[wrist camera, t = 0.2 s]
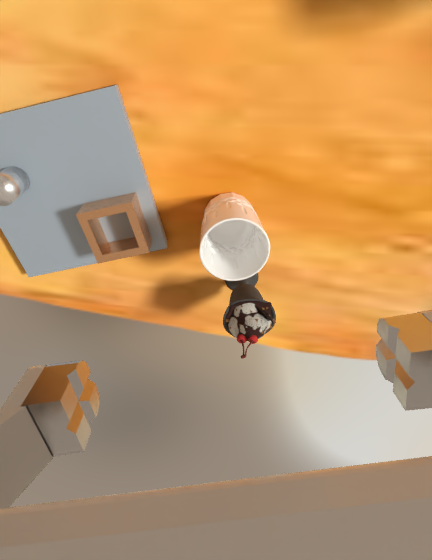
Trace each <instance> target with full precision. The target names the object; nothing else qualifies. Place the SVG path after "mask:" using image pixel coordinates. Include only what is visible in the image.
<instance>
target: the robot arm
mask: <svg viewBox="0 0 432 560" xmlns="http://www.w3.org/2000/svg"><path fill="white" fill-rule="evenodd" d="M377 332H378V334H379V335H380V337H381V338H382V339H381V340H380V341H379V342H378V344H377V345H376V356H377V361H378V365H379V368H380V370H381V372H382V374H383V376H384V378H385V379H386V380H388V381H390V382H392V383H394V384H393V392H394V394H395V395H396V397H397V398H398V400H399V401H400V402H401V404H402V406H403V408H404V409H405V410H415V409H425V408H432V310H428V311H422V312H417V313H413V314H407V315H400V316H393V317H387V318H380V319H379V321H378V324H377ZM89 374H90V369H89V367H88V365H87V363H86V362H84V361H74V362H66V363H58V364H49V365H43V366H35V367H31V368H29V369H27V371H26V372H25V374H24V375H23V376H22V378H21V379H20V381H19V382H18V384H17V385H16V387H15V388H14V390H13V392H12V393H11V394H10V396H9V397H8V399H7V400H6V402H5V403H4V405H3V406H2V408H1V409H0V560H432V456H429V457H421V458H414V459H406V460H396V461H388V462H380V463H372V464H363V465H355V466H346V467H338V468H330V469H322V470H314V471H305V472H296V473H288V474H280V475H272V476H264V477H255V478H247V479H239V480H231V481H223V482H214V483H207V484H198V485H191V486H182V487H174V488H167V489H157V490H149V491H141V492H133V493H125V494H116V495H108V496H100V497H92V498H84V499H75V500H67V501H59V502H51V503H43V504H34V505H26V506H18V507H10V505H11V504H12V503H13V502H14V501H15V500H16V499H17V498H18V497H19V496H20V494H21V493H22V492H23V491H24V490H25V489H26V488H27V487H28V485H29V484H30V483H31V482H32V481H33V480H34V479H35V478H36V476H38V474H39V473H40V472H41V471H42V470H43V469H44V468H45V467H46V466H47V464H48V463H49V462H50V461H51V460H52V459H53V457H54V456H61V455H67V454H73V453H80V452H84V450H85V448H86V445H87V442H88V439H89V436H90V434H91V429H90V427H89V424H90V423H91V422H92V421H93V420H94V419H95V418H96V416H97V413H98V410H99V393H98V389H97V387H96V384H94V383H93V382H92V381H90V380H89V379H88V376H89ZM9 507H10V508H9Z"/></svg>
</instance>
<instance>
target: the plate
mask: <svg viewBox="0 0 432 560" xmlns="http://www.w3.org/2000/svg"><path fill="white" fill-rule="evenodd" d="M10 166H15V167H19V168H21V169H22V170H24V171H25V172H26V173H27V175H28V177H29V179H30V187H29V189H28V190H27V191H25V192H24V193H23V194H22V195H21V196H19V197H18V198H17V199H16V200H15V201H13V202H12V203H11V204H10V205H7V206H0V228H1V230H2V232H3V233H4V235H5V237H6V238H7V240H8V242H9V244H10V245H11V247H12V249H13V251H14V252H15V254H16V256H17V257H18V259H19V261H20V263H21V264H22V266H23V268H24V269H25V271H26V273H27V275H28V276H29V277H33V276H38V275H42V274H47V273H52V272H57V271H61V270H66V269H71V268H76V267H80V266H85V265H90V264H95V263H97V261H96V258H95V256H94V254H93V252H92V249H91V247H90V245H89V243H88V241H87V238H86V236H85V234H84V232H83V229H82V227H81V225H80V223H79V221H78V218H77V216H76V213H77V212H78V211H79V209H80V208H81V207H82V205H83V204H85V203H89V202H93V201H98V200H102V199H107V198H111V197H116V196H120V195H125V194H129V193H133V192H136V194H137V197H138V200H139V203H140V206H141V209H142V212H143V214H144V217H145V220H146V223H147V226H148V229H149V232H150V235H151V238H152V244H151V248H150V252H152V251H156V250H161V249H166V248H167V247H168V242H167V238H166V235H165V232H164V229H163V226H162V223H161V220H160V216H159V213H158V210H157V207H156V204H155V201H154V198H153V194H152V191H151V188H150V185H149V182H148V179H147V175H146V172H145V169H144V166H143V163H142V160H141V157H140V153H139V150H138V147H137V144H136V141H135V138H134V135H133V131H132V128H131V125H130V122H129V119H128V116H127V113H126V109H125V106H124V103H123V100H122V97H121V94H120V91H119V87H118V84H117V85H113V86H109V87H105V88H101V89H97V90H93V91H89V92H85V93H81V94H77V95H73V96H69V97H65V98H61V99H57V100H53V101H49V102H45V103H41V104H37V105H33V106H29V107H25V108H21V109H17V110H13V111H9V112H5V113H1V114H0V171H2V170H4V169H5V168H7V167H10ZM98 219H99V222H100V224H101V227H102V229H103V231H104V234H105V236H106V239H107V241H108V243H109V242H113V241H118V240H123V239H127V238H132V237H135V235H134V232H133V229H132V227H131V224H130V221H129V218H128V216H127V213H126V212H123V213H119V214H114V215H109V216H105V217H100V218H98Z"/></svg>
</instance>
